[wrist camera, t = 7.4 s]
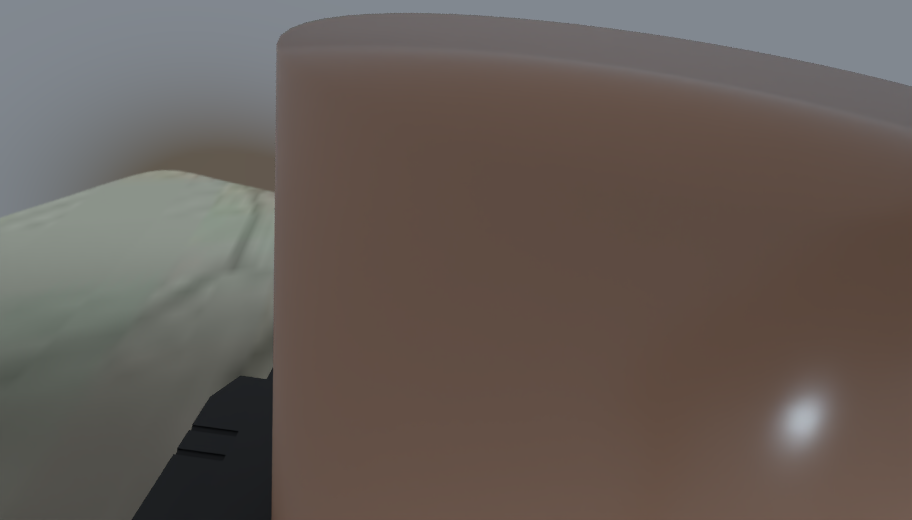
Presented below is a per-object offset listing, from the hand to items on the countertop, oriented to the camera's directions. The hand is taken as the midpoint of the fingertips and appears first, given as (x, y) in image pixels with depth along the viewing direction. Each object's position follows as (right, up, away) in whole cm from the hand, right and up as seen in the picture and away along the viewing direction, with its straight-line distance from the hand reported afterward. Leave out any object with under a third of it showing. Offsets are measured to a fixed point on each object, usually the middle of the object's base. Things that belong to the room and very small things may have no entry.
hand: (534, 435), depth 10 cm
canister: (-1, -7, +1) cm, 7 cm away
